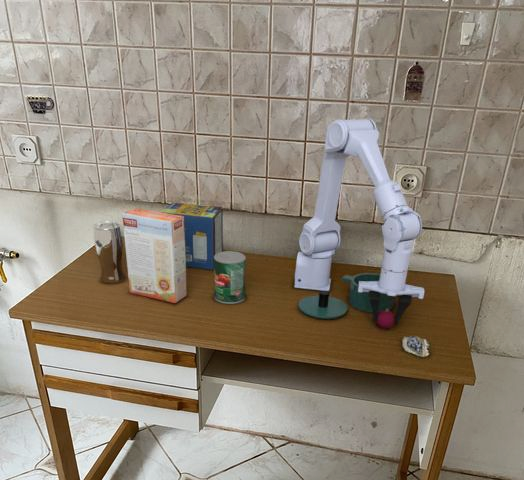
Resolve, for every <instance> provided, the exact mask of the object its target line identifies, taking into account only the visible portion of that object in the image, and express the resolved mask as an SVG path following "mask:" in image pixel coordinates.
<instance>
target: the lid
mask: <svg viewBox="0 0 524 480" xmlns="http://www.w3.org/2000/svg"><path fill="white" fill-rule="evenodd" d="M297 305H298V309H299V310H300V311H301V312H302V313H303V314H304V315H306V316H309V317H312V318H316V319H325V320H326V319H330V320H331V319H337V318H340V317H343V316H344V315H346V314H347V313H348V305H347V304H346V303H345V302H344V301H343V300H342V299H339V298H336V297H334V296H330V291H321V290H319V294H318V295H310V296H306V297H303V298H302V299H300V300H299V302H298V304H297Z"/></svg>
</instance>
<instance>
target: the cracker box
mask: <svg viewBox="0 0 524 480" xmlns="http://www.w3.org/2000/svg"><path fill="white" fill-rule="evenodd" d="M121 215H122V216H121V217H122V226H123V227H122V228H123V235H124V236H123V237H124V247H125V257H126V267H127V276H128V286H129V287H128V288H129V293H130V294H134V295H139V296H142V297H146V298H151V299H155V300H158V301H163V302H168V303H171V304H178V302H180V301H181V300H183V299H185V298H186V297H187V296H188V288H187V287H188V286H187V285H188V284H187V267H186V258H185V233H184V216H179V215H173V214H167V213H161V211H155V210H149V209H144V208H138V207H135V208H132V209H129V210H128V211H124V212H122V213H121Z"/></svg>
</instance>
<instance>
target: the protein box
mask: <svg viewBox="0 0 524 480" xmlns="http://www.w3.org/2000/svg"><path fill="white" fill-rule="evenodd" d="M223 211H224V210H223V207H222V206H216V205H215V206H213V205H203V204H194V203H193V204H192V203H181V202H172V203H170V204H169V205H168V206H166V207H165V208H164V209H162V210H161V211H160V212H161V213H167V214H173V215H179V216H184V233H185V258H186V268H194V269H203V270H210V271H214V255H215V254H217V253H219V252H224V240H223V239H224V236H223V235H224V234H223V233H224V232H223V229H224V226H223V225H224V224H223V223H224V222H223V221H224V218H223V217H224V216H223V215H224V214H223Z"/></svg>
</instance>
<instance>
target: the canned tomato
mask: <svg viewBox="0 0 524 480" xmlns="http://www.w3.org/2000/svg"><path fill="white" fill-rule="evenodd" d="M246 259H247V258H246V255H245V254H243V253H241V252H238V251H231V250H225V251H223V252H219V253H217V254H215V255H214V269H213V281H214V283H213V285H214V286H213V287H214V288H213V289H214V290H213V291H214V294H213V295H214V297H213V298H214V300H215V301H216V302H218V303H222V304H226V305H235V304H239V303H242V302H244V300H245V299H246V295H245V294H246V264H247V263H246Z"/></svg>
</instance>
